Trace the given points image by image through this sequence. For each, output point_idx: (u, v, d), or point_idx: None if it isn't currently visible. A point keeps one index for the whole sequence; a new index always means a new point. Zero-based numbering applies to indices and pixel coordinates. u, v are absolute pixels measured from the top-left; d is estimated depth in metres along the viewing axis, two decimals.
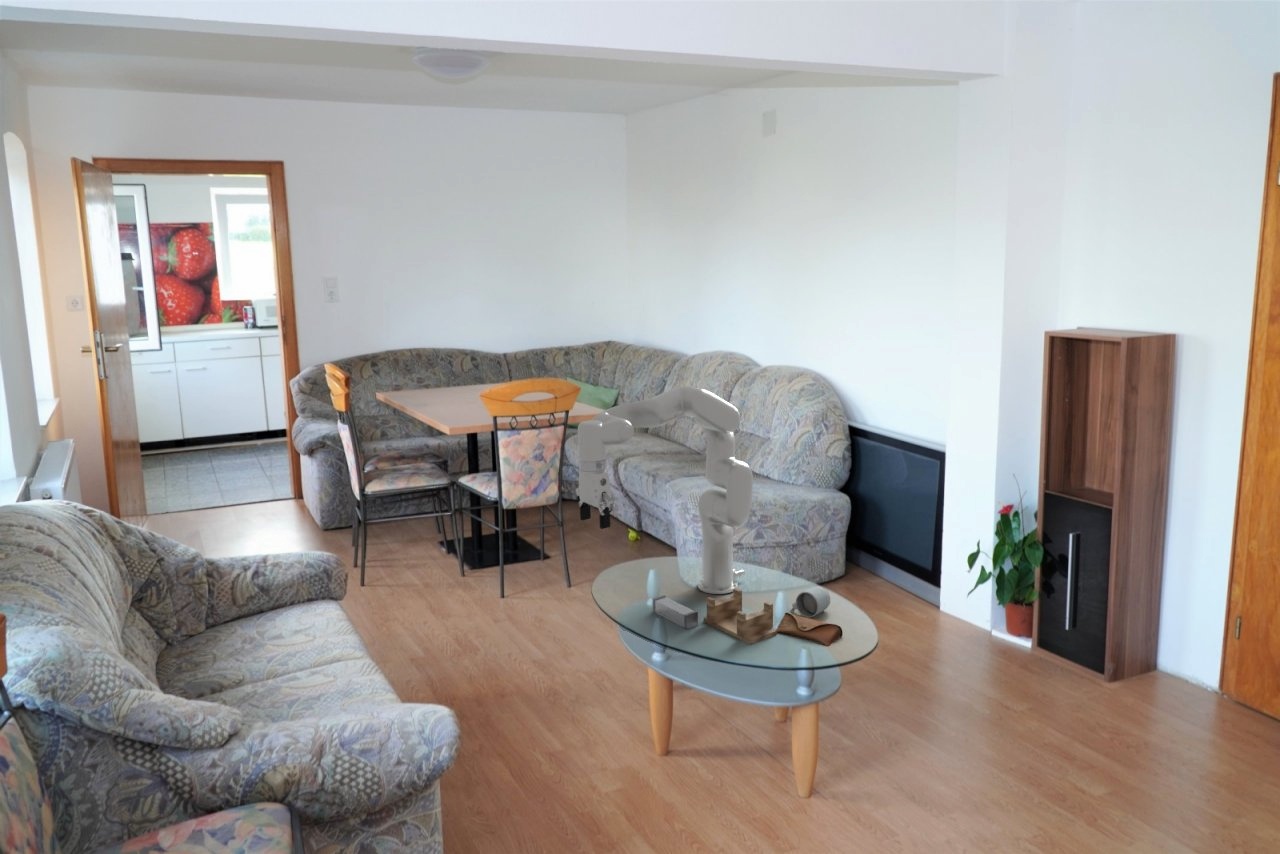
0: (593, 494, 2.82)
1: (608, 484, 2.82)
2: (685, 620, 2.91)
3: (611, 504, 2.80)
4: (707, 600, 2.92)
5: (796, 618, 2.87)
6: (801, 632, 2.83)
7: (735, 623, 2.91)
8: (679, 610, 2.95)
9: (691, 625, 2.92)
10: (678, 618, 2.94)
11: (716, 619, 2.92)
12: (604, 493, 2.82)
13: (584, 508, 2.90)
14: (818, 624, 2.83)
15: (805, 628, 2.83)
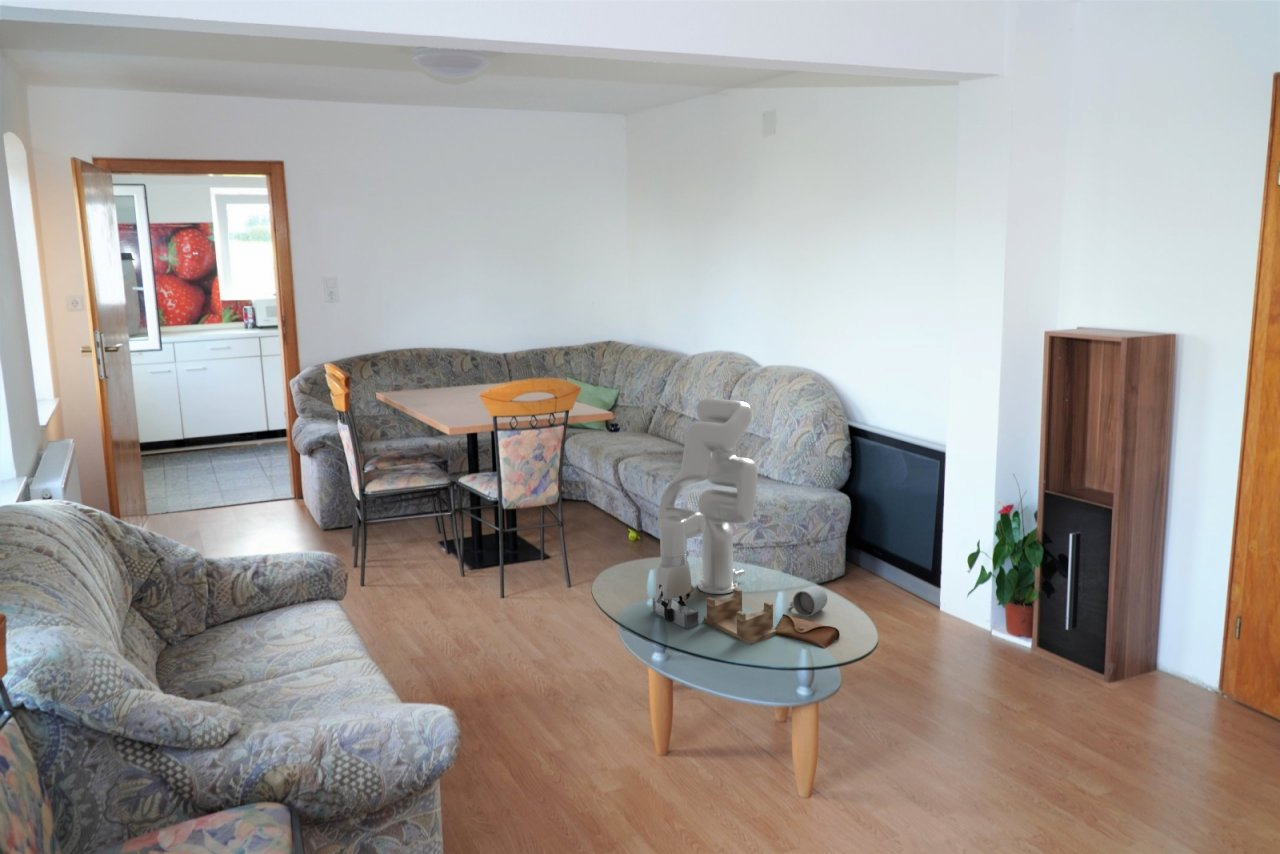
0: (687, 582, 2.96)
1: None
2: (685, 620, 2.91)
3: None
4: (707, 600, 2.92)
5: (793, 620, 2.86)
6: (798, 634, 2.82)
7: (735, 623, 2.91)
8: (679, 609, 2.95)
9: (691, 625, 2.92)
10: (678, 618, 2.94)
11: (716, 619, 2.92)
12: None
13: None
14: (815, 626, 2.82)
15: (802, 630, 2.82)
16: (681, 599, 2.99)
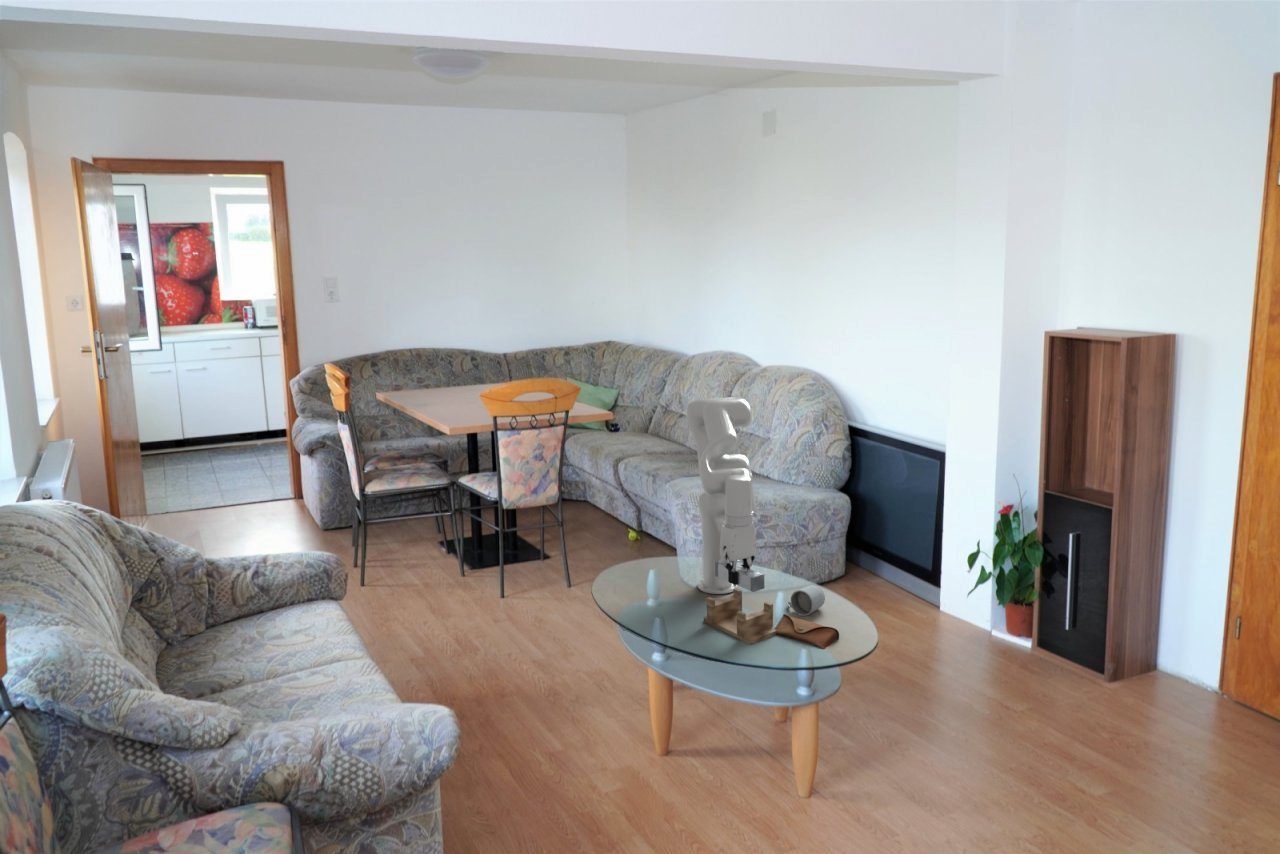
0: (752, 544, 2.85)
1: None
2: (751, 582, 2.80)
3: None
4: (707, 600, 2.92)
5: (793, 620, 2.86)
6: (798, 634, 2.82)
7: (735, 623, 2.91)
8: (745, 572, 2.84)
9: (757, 588, 2.81)
10: (744, 580, 2.83)
11: (716, 619, 2.92)
12: None
13: None
14: (814, 627, 2.82)
15: (802, 630, 2.82)
16: (745, 562, 2.88)
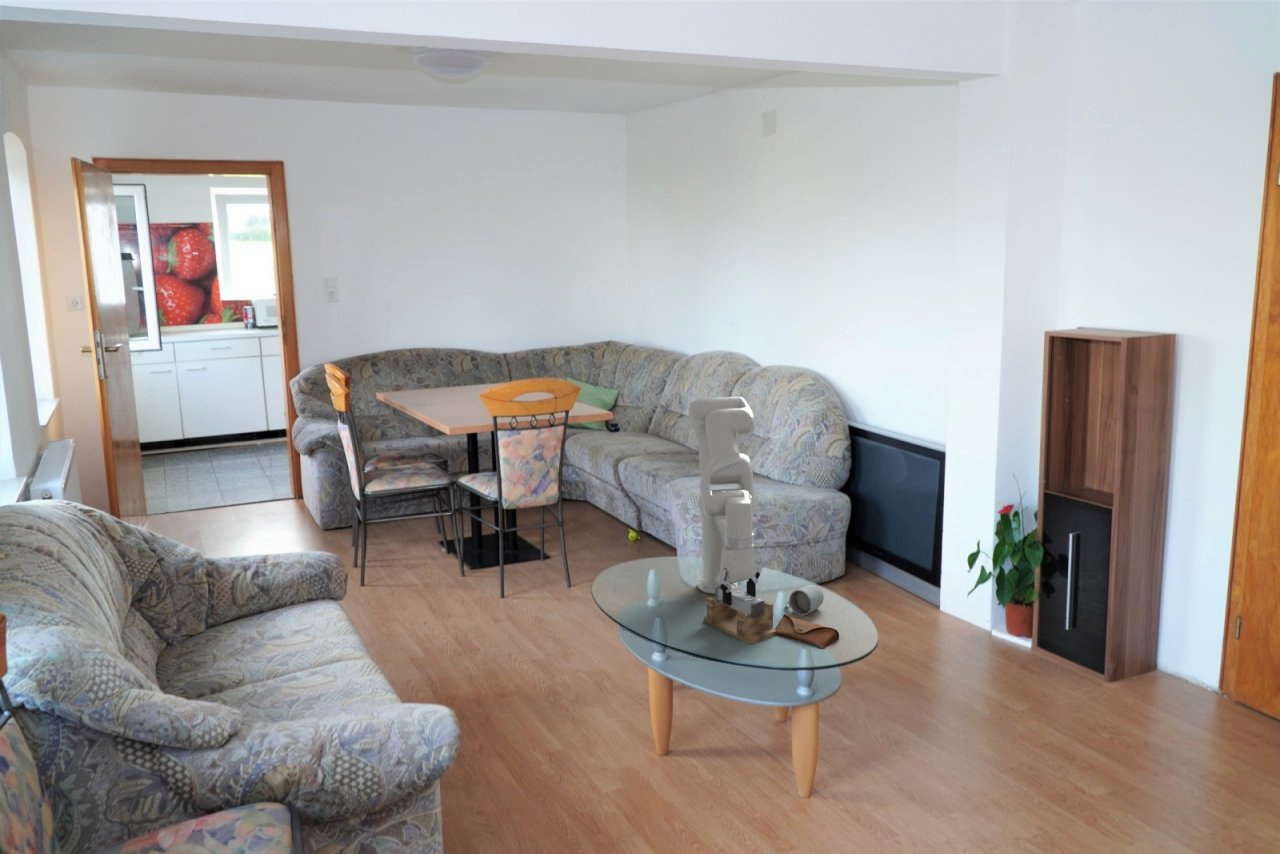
0: (752, 566, 2.87)
1: None
2: (752, 609, 2.82)
3: None
4: (707, 600, 2.92)
5: (793, 620, 2.86)
6: (797, 634, 2.82)
7: (735, 623, 2.91)
8: (745, 598, 2.86)
9: (758, 614, 2.83)
10: (744, 606, 2.85)
11: (716, 619, 2.92)
12: None
13: None
14: (814, 627, 2.82)
15: (802, 631, 2.82)
16: (751, 579, 2.91)
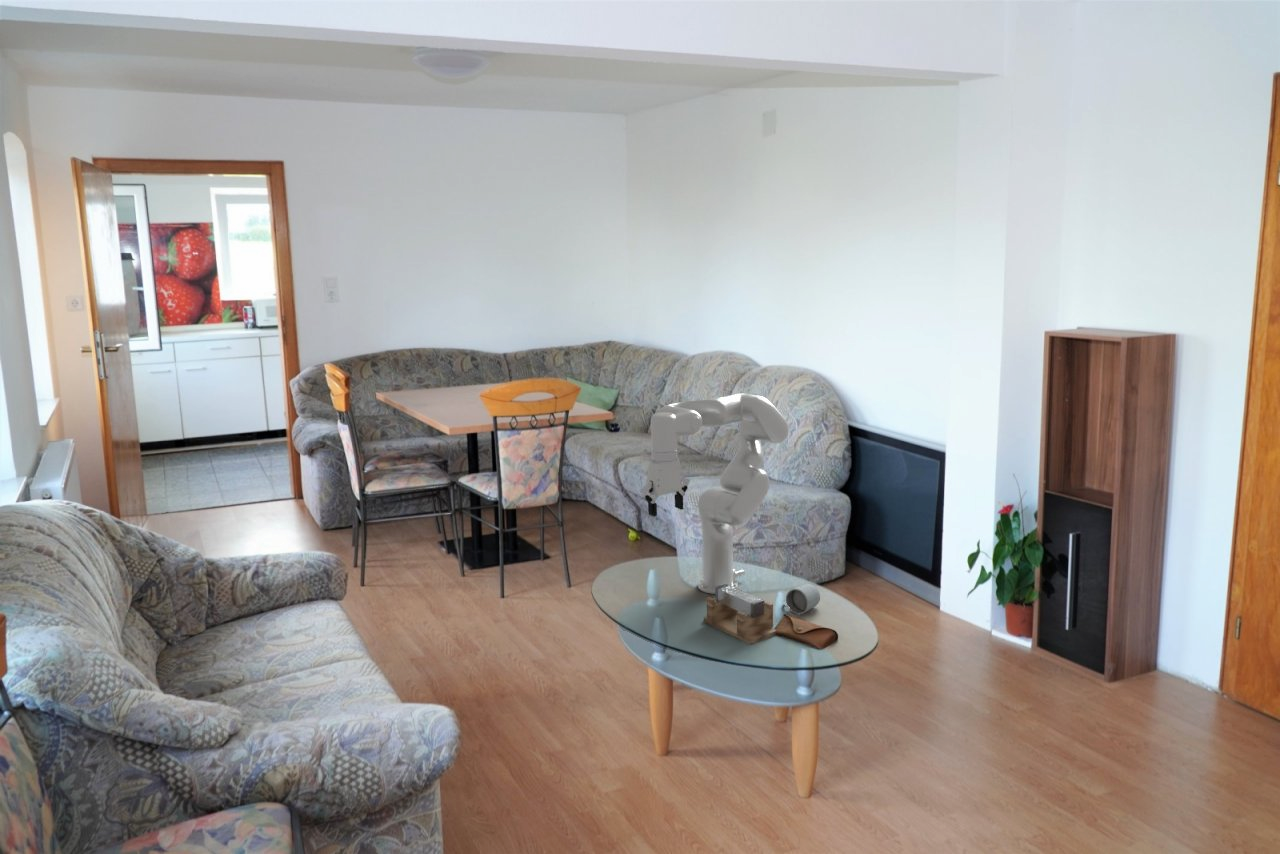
0: (678, 479, 2.97)
1: None
2: (752, 609, 2.82)
3: None
4: (707, 600, 2.92)
5: (793, 620, 2.86)
6: (796, 634, 2.82)
7: (735, 623, 2.91)
8: (745, 598, 2.86)
9: (758, 614, 2.83)
10: (744, 606, 2.85)
11: (716, 619, 2.92)
12: None
13: None
14: (813, 628, 2.81)
15: (800, 631, 2.82)
16: (678, 492, 3.01)
